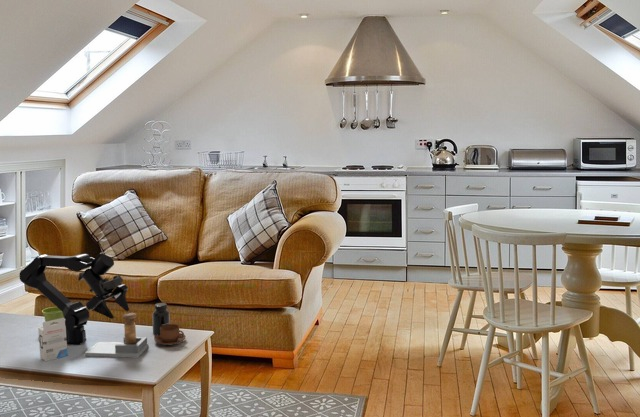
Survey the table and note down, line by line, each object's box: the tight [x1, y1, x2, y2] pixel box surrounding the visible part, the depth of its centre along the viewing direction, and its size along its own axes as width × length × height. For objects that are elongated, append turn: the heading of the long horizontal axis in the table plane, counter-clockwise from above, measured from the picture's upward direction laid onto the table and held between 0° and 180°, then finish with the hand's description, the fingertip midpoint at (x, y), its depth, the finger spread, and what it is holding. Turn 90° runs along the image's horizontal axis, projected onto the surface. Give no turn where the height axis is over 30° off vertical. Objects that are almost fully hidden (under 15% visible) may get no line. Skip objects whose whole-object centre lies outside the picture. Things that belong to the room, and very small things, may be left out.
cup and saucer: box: [153, 323, 186, 346], centre depth 268 cm, size 12×12×6 cm
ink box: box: [37, 318, 68, 362], centre depth 251 cm, size 8×5×15 cm, turn 133°
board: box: [84, 336, 150, 358], centre depth 258 cm, size 20×12×4 cm, turn 85°
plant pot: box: [41, 306, 64, 325], centre depth 282 cm, size 9×9×9 cm
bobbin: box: [122, 312, 137, 345], centre depth 257 cm, size 5×5×13 cm
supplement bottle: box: [152, 302, 171, 336], centre depth 278 cm, size 7×7×12 cm
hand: (120, 314), depth 259 cm, fingers open, 9 cm apart
